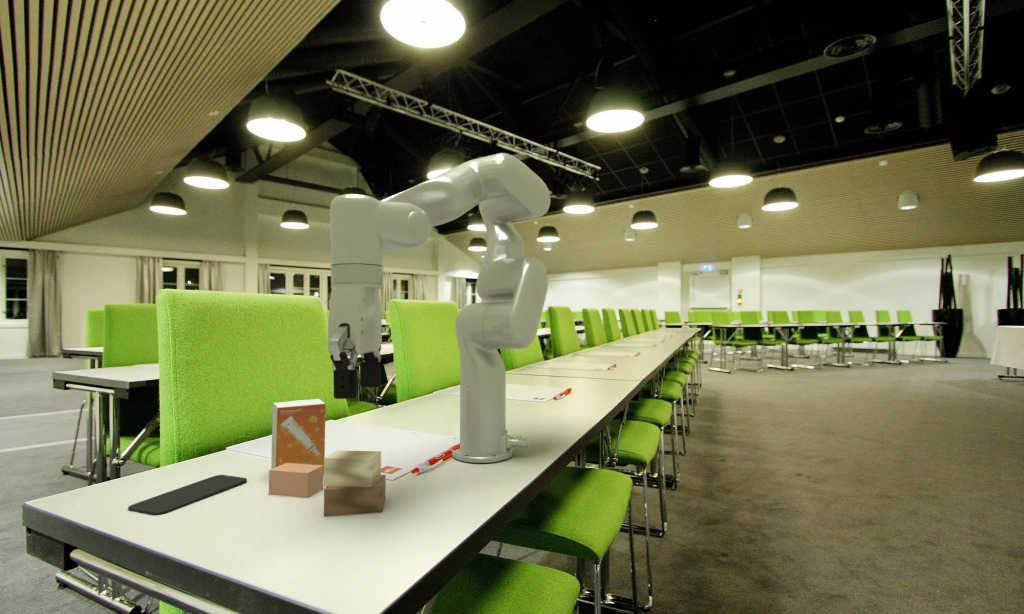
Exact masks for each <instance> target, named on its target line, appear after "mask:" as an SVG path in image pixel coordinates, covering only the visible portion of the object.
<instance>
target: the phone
mask: <svg viewBox="0 0 1024 614" xmlns="http://www.w3.org/2000/svg"><path fill="white" fill-rule="evenodd" d="M247 482H248V479H247V478H246V477H241V476H235V475H226V474H216V475H213V476H209V477H208V478H204V479H202V480H198V481H195V482H193V483H191V484H187V485H184V486H182V487H179V488H176V489H173V490H170V491H167V492H165V493H162V494H159V495H155V496H153V497H150V498H147V499H145V500H141V501H139V502H136V503H133V504H131V505H129V506H128V508H127V511H129V512H134V513H139V514H145V515H149V516H162V515H167V514H169V513H172V512H173V511H177V510H179V509H182V508H184V507H185V508H186V507H187V506H190V505H192V504H195V503H198V502H201V501H203V500H206V499H208V498H211V497H214V496H216V495H219V494H221V493H224V492H227V491H229V490H232V489H235V488H237V487H241V486H243V485H245V484H247Z"/></svg>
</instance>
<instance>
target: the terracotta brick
mask: <svg viewBox="0 0 1024 614" xmlns="http://www.w3.org/2000/svg"><path fill="white" fill-rule="evenodd" d="M268 470H269V471H268V495H269V496H279V497H280V496H281V497H293V498H303V499H305V498H306V499H309V497H311V496H313V495H315V494H317V493H319V492H320V491H322V490H323V489H324V475H323V465H310V464H296V463H285V464H282V465H280V466H278V467H276V468H273V469H271V468H270V469H268Z"/></svg>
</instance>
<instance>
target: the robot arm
mask: <svg viewBox="0 0 1024 614" xmlns="http://www.w3.org/2000/svg"><path fill="white" fill-rule="evenodd" d="M476 206H478V209H479V212H480V215H481V218H482V222H483V224H484V227H485V229H486V233H487V238H488V242H487V247H486V251H485V253H484V256H483V260H482V263H481V265H480V268H479V269H480V270H479V272H478V275H477V279H476V283H475V290H476V293H477V295H478V297H479V298H480V299H481V300H483V301H485V302H473V303H471V304H468V305H465V306H464V307H462V308H461V309H460V311H459V312H458V313H457V315H456V318H455V325H454V327H455V328H454V329H455V335H456V340H457V345H458V353H459V370H460V371H459V445H460V448H459V449H456V450H453V449H452V450H453V451H452V450H451V455H452V457H453V458H454V459H456V460H457V461H461V462H465V463H473V464H475V463H476V464H489V463H496V462H501V461H505V460H507V459H510V458H511V457H512V456H513V454H514V449H513V448H521V449H522V448H524V449H525V448H526V449H527V448H528V437H522V436H521V435H520V436H519V435H515V436H511V434H508V433H509V429H507V428H506V427H507V426H506V424H507V423H506V420H507V419H506V417H507V416H506V415H507V414H506V412H507V409H506V402H507V401H506V400H507V399H506V394H507V393H506V381H507V380H506V379H507V378H506V376H507V375H506V374H507V373H506V367H505V362H504V360H503V358H502V355H501V353H500V352H499V351H498V349H500V350H502V349H503V350H521V349H527V348H529V346H531V345H532V343H533V342H534V340H535V338H536V335H537V333H538V330H539V326H540V322H541V318H542V315H543V311H544V310H543V309H544V305H545V301H546V297H547V293H548V287H549V277H548V272H547V268H546V266H545V265H544V263H543V262H542V261H541V260H540V259H538V258H536V257H533V256H532V257H531V256H524V255H525V251H526V250H525V249H526V248H525V247H526V245H525V242H524V239H523V238H522V236H521V235H520V233H519V232H518V231H517V230H516V229H515V227H514V225H513V224H512V222H517V221H526V220H532V219H537V218H538V219H539V218H540V217H543V216H544V215H545V214H546V213H548V211H549V208H550V206H551V193H550V190H549V188H548V186H547V184H546V182H544V180H543V179H542V178H541V177H540V176H539V175H538V174H536V173H535V172H534V171H533V170H532V169H530V167H529V166H527V165H526V164H525V163H524V162H523V161H521V160H520V159H519V158H518V157H516V156H514V155H512V154H509V153H506V152H498V153H496V154H495V153H494V154H491V155H490V154H489V155H487V156H482V157H477V158H473V159H470V160H468V161H465V162H462V163H461V164H458V165H457V166H454V167H453V168H451V169H449V170H447V171H445V172H443V173H441V174H439V175H437V176H435V177H432V178H430V179H428V180H426V181H423V182H420V183H418V184H416V185H414V186H413V187H410V188H408V189H405V190H403V191H401V192H398V193H395V194H393V195H391V196H389V197H386V198H384V199H381V200H379V199H377V198H375V197H372V196H370V195H365V194H359V193H346V194H341V195H337V196H335V197H333V199H332V200H331V202H330V205H329V207H330V208H329V211H330V212H329V216H330V218H329V222H330V223H329V225H330V230H329V231H330V234H329V235H330V288H331V292H330V299H329V306H328V318H327V319H328V322H327V323H328V324H327V352H328V353H329V354H330V357H329V358H330V360H331V361H332V365H331V369H332V372H333V375H332V376H333V398H334V399H335V400H337V399H338V400H345V399H346V400H347V399H348V400H350V399H351V400H353V399H354V400H355V399H356V398H357V397H358V395H359V391H358V388H359V387H358V369H357V368H356V369H355V367H356V364H357V360H358V356H360V357H361V360H362V361H360V362H359V373H360V374H359V380H360V381H359V382H360V384H359V385H360V387H361V388H379V387H381V386H382V376H381V375H382V372H381V371H382V369H381V368H382V364H381V363H382V362H381V360H382V355H381V351H382V339H383V338H382V335H383V329H382V327H383V326H382V325H383V324H382V307H381V297H380V290H381V289H384V253H387V252H388V253H389V252H390V253H391V252H398V251H399V252H400V251H406V250H407V251H408V250H413V249H416V248H419V247H420V246H423V244H424V243H426V242H427V240H428V239H429V237H430V234H431V230H432V227H437V226H441V225H444V224H446V223H449V222H452V221H455V220H456V219H458V218H460V217H461V216H463V215H464V214H466V213H467V212H468V211H470V210H472V209H473V208H474V207H476Z"/></svg>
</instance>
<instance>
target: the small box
mask: <svg viewBox="0 0 1024 614" xmlns="http://www.w3.org/2000/svg"><path fill="white" fill-rule="evenodd" d="M326 408H327V407H326V403H325V402H324V401H322V400H321V399H320V398H315V399H313V398H312V399H299V400H290V401H280V402H279V401H277V402H272V419H271V420H272V422H271V423H272V427H271V467H270V470H271V469H273V468H276V467H278V466H280V465H282V464H285V463H296V464H310V465H323V476H324V458H325V457H326V456H325V450H326V412H327V411H326V410H327V409H326Z"/></svg>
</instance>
